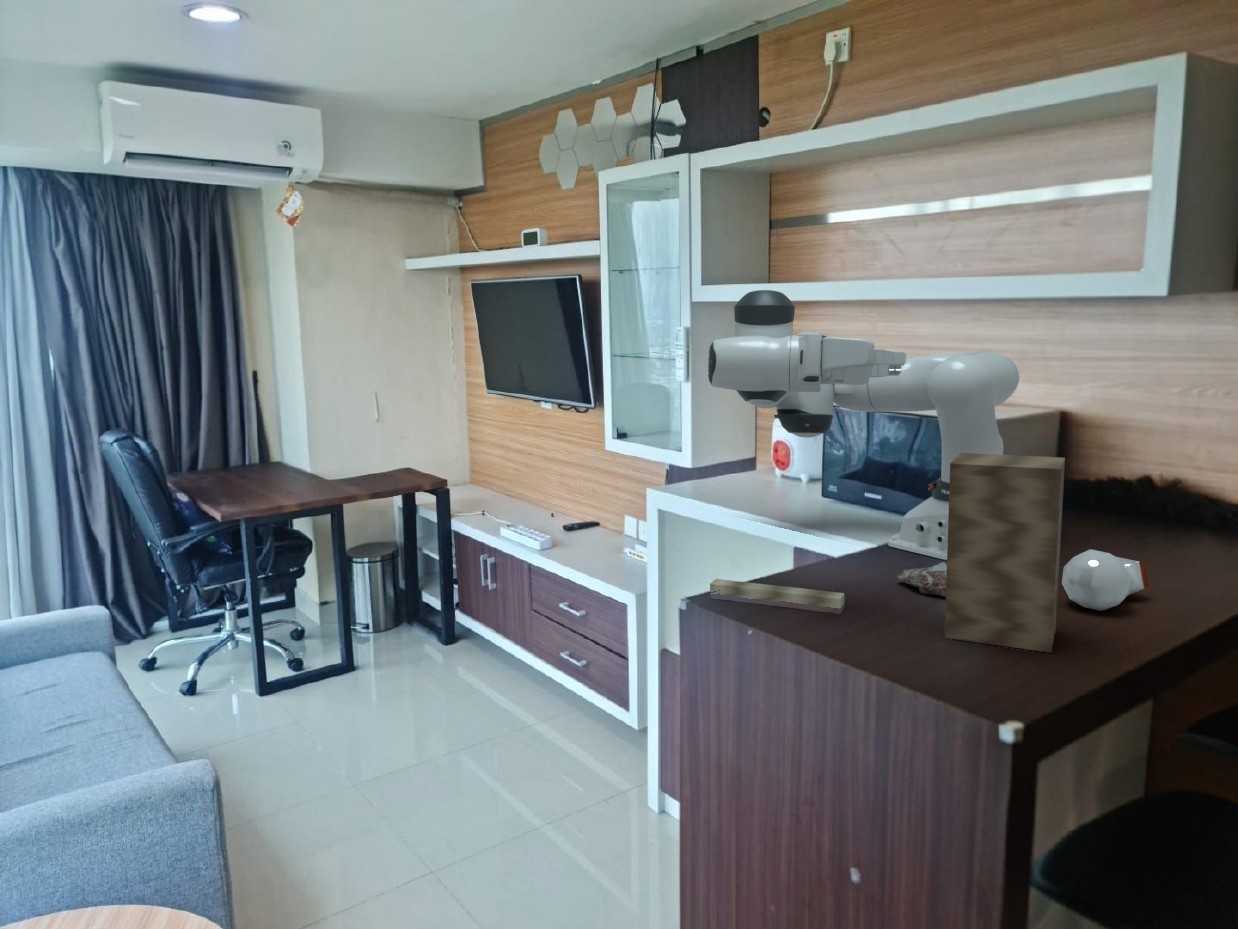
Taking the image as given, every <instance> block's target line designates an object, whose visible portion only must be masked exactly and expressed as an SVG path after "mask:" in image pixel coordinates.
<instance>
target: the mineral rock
mask: <svg viewBox="0 0 1238 929" xmlns="http://www.w3.org/2000/svg"><path fill="white" fill-rule="evenodd" d="M946 576H947V563H945V562H943V561H942V562H940V563H938V564H934V565H933V566H931V567H928V566H927V567H922V568H920V567H918V568H910V569H905V568H904V569H902V570H901V571H900V573H899V574H898V575H897V578H898V579H899V580H900V581H901V582H904V583H905V584H906V585H911V586H913V587H916V588H918V589H919V593H920V594H923V593H924V594H923V595H927V594H928V595H935V596H941V597H944V598H946Z"/></svg>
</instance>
